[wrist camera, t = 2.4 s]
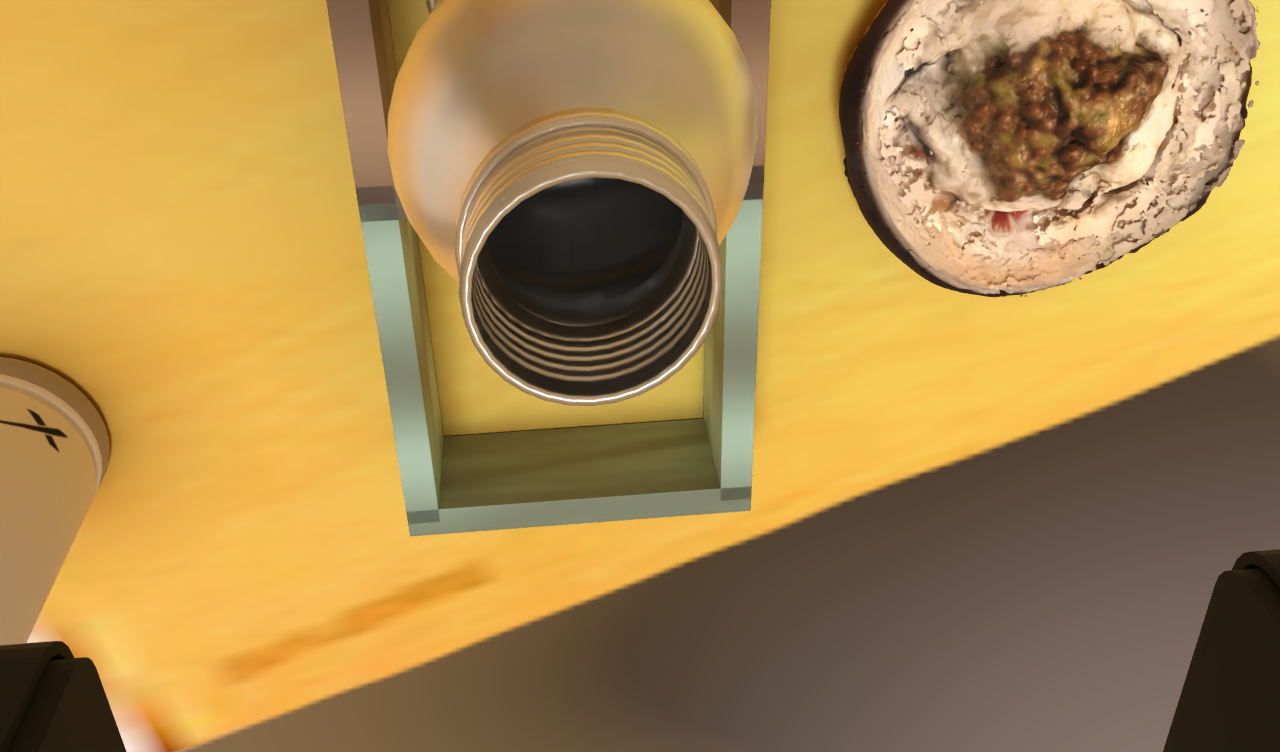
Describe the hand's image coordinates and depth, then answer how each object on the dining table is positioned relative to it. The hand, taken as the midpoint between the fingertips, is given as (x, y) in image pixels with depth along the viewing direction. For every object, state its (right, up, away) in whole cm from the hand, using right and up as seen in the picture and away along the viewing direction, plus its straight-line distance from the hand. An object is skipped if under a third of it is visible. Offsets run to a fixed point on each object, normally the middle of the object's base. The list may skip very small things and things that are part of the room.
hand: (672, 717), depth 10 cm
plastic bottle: (-3, +15, +23) cm, 27 cm away
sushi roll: (+12, +12, +27) cm, 32 cm away
